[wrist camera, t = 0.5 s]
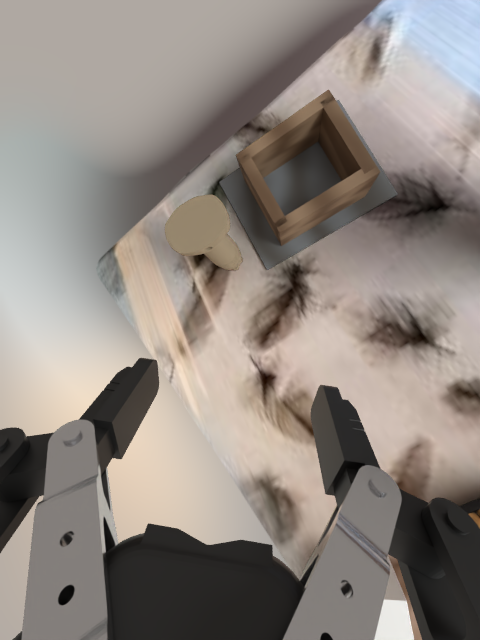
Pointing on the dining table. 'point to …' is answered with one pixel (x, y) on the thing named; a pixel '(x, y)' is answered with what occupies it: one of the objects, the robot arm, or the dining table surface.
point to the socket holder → (305, 180)
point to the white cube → (394, 613)
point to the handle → (203, 231)
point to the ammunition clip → (473, 510)
